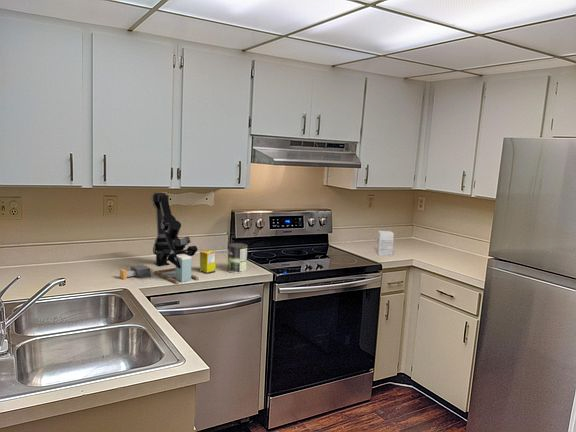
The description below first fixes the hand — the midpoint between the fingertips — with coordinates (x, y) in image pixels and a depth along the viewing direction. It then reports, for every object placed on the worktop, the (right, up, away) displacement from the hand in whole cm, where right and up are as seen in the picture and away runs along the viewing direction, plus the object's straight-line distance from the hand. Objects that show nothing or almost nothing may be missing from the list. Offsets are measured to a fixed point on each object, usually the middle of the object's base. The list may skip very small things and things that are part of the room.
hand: (184, 267), depth 225 cm
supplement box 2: (+113, -1, +78) cm, 137 cm away
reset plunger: (-28, -5, +2) cm, 29 cm away
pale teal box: (-1, -6, +2) cm, 7 cm away
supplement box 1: (+8, -5, +19) cm, 21 cm away
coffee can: (+23, -5, +23) cm, 33 cm away
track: (-6, -6, +7) cm, 11 cm away
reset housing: (-24, -5, +7) cm, 25 cm away
